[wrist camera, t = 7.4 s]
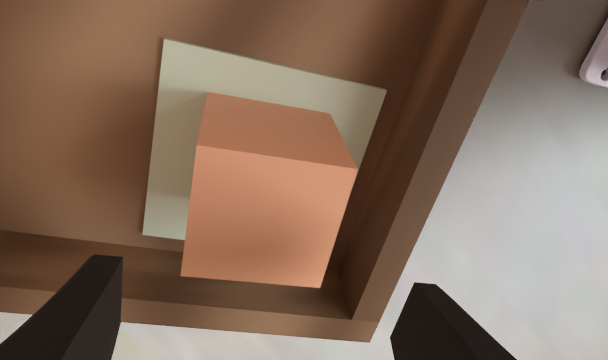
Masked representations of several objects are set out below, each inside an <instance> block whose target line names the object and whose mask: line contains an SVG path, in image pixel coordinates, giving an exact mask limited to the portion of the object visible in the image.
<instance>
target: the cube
mask: <svg viewBox="0 0 608 360" xmlns="http://www.w3.org/2000/svg"><path fill="white" fill-rule="evenodd" d="M357 171H358V168H357V166H356V164H355V162H354V160H353V158H352V156H351V154H350V152H349V150H348V148H347V146H346V144H345V142H344V140H343V138H342V136H341V134H340V132H339V130H338V128H337V126H336V124H335V122H334V120H333V118H332V116H331V114H330V113H325V112H319V111H314V110H308V109H302V108H297V107H291V106H286V105H280V104H274V103H269V102H263V101H257V100H252V99H246V98H241V97H235V96H229V95H224V94H218V93H212V92H208V94H207V98H206V103H205V108H204V113H203V118H202V122H201V127H200V132H199V137H198V141H197V147H196V155H195V163H194V171H193V179H192V187H191V195H190V203H189V211H188V219H187V227H186V236H185V244H184V252H183V260H182V268H181V276H185V277H197V278H209V279H220V280H232V281H244V282H255V283H267V284H279V285H290V286H302V287H314V288H320V287H321V284H322V281H323V277H324V274H325V271H326V268H327V265H328V262H329V259H330V256H331V252H332V249H333V246H334V243H335V240H336V237H337V234H338V231H339V227H340V224H341V221H342V218H343V215H344V212H345V209H346V206H347V202H348V199H349V196H350V193H351V190H352V187H353V184H354V181H355V177H356V174H357Z"/></svg>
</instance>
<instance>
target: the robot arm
mask: <svg viewBox="0 0 608 360" xmlns="http://www.w3.org/2000/svg"><path fill="white" fill-rule="evenodd" d="M605 69H606V72H605V74H604V75H603V76H602V77H600V76H601V73H602V72H603V71H604V70H605ZM579 76H580V78H581V79H582V80H583V81H585V82H588V83H591V84H594V85H598V86H602V87H606V88H608V19H607V20H606V22H605V24H604V26H603V28H602V30H601V31H600V33H599V35H598V37H597V39H596V40H595V42H594V44H593V46H592V48H591V49H590V51H589V53H588V55H587V57H586V58H585V60H584V62H583V64H582V66H581V68H580V71H579ZM122 271H123V257H120V256H108V255H97V254H94V255H92V256H91V257H89V258H88V259H87V260H86V262H85V263H84V264H83V265H82V266H81V267H80V268H79V269H78V270H77V271H76V272H75V274H74V275H73V276H72V277H71V278H70V279H69V280H68V281H67V282H66V283H65V284H64V285H63V286H62V287H61V288H60V289H59V290H58V291H57V292H56V293H55V294H54V295H53V296H52V297H51V298H50V299H49V300H48V301H47V302H46V303H45V304H44V305H43V306H42V307H41V308H40V309H39V310H38V311H36V312H35V313H34V314H33V315H32V316H31V317H30V318H29V319H28V320H27V321H26V322H25V323H24V324H23V325H22V326H21V327H19V328H18V329H17V330H16V331H15V332H14V333H13V334H11V335H10V336H9V337H8V338H7V339H6V340H5V341H3V342H2V343H1V344H0V360H111V358H112V354H113V350H114V347H115V343H116V339H117V335H118V331H119V327H120V323H121V299H122ZM390 339H391V344H392V349H393V354H394V359H395V360H517V359H516V358H514V357H513V356H512V355H511V354H510V353H509V352H508V351H507V350H506V349H505V348H503V347H502V346H501V345H500V344H499V343H498V342H497V341H496V340H495V339H494V338H493V337H492V336H491V335H489V334H488V333H487V332H486V331H485V330H484V329H483V328H482V327H481V326H480V325H479V324H478V323H477V322H476V321H475V320H474V319H473V318H472V317H471V316H470V315H469V314H467V313H466V312H465V311H464V310H463V309H462V308H461V307H460V306H459V305H458V304H457V303H456V302H455V301H454V300H453V299H452V298H451V297H449V296H448V295H447V294H446V293H445V292H444V291H443V290H442V289H440V288H439V287H438V286H437V285H436V284H426V283H415V282H414V285H413V287H412V289H411V291H410V294H409V296H408V298H407V300H406V303H405V305H404V307H403V309H402V312H401V314H400V316H399V319H398V321H397V323H396V325H395V328H394V330H393V332H392V334H391V337H390Z"/></svg>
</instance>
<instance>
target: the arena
mask: <svg viewBox="0 0 608 360" xmlns="http://www.w3.org/2000/svg"><path fill="white" fill-rule="evenodd" d="M528 1H529V0H0V312H7V313H20V314H32V315H33V314H34V313H35V312H36V311H38V310H39V309H40V308H41V307H42V306H43V305H44V304H45V303H46V302H47V301H48V300H49V299H50V298H51V297H52V296H53V295H54V294H55V293H56V292H57V291H58V290H59V289H60V288H61V287H62V286H63V285H64V284H65V283H66V282H67V281H68V280H69V279H70V278H71V277H72V276H73V275H74V274H75V272H76V271H77V270H78V269H79V268H80V267H81V266H82V265H83V264H84V263H85V262H86V260H87V259H88V258H89V257H91V256H92V255H94V254H97V255H108V256H120V257H123V271H122V299H121V322H128V323H140V324H152V325H164V326H176V327H188V328H200V329H212V330H224V331H236V332H248V333H260V334H272V335H284V336H296V337H308V338H320V339H332V340H345V341H357V342H369V343H370V341H371V338H372V336H373V334H374V332H375V330H376V328H377V325H378V323H379V321H380V319H381V317H382V315H383V313H384V310H385V308H386V306H387V304H388V302H389V300H390V297H391V295H392V293H393V291H394V289H395V287H396V285H397V282H398V280H399V278H400V276H401V274H402V272H403V270H404V267H405V265H406V263H407V261H408V259H409V257H410V254H411V252H412V250H413V248H414V246H415V244H416V242H417V239H418V237H419V235H420V233H421V231H422V229H423V227H424V224H425V222H426V220H427V218H428V216H429V214H430V211H431V209H432V207H433V205H434V203H435V201H436V199H437V196H438V194H439V192H440V190H441V188H442V186H443V183H444V181H445V179H446V177H447V175H448V173H449V171H450V168H451V166H452V164H453V162H454V160H455V158H456V156H457V153H458V151H459V149H460V147H461V145H462V143H463V140H464V138H465V136H466V134H467V132H468V130H469V128H470V125H471V123H472V121H473V119H474V117H475V115H476V113H477V110H478V108H479V106H480V104H481V102H482V100H483V97H484V95H485V93H486V91H487V89H488V87H489V85H490V82H491V80H492V78H493V76H494V74H495V72H496V69H497V67H498V65H499V63H500V61H501V59H502V57H503V54H504V52H505V50H506V48H507V46H508V44H509V42H510V39H511V37H512V35H513V33H514V31H515V29H516V26H517V24H518V22H519V20H520V18H521V16H522V14H523V11H524V9H525V7H526V5H527V3H528ZM208 92H212V93H218V94H224V95H229V96H235V97H241V98H246V99H252V100H257V101H263V102H269V103H274V104H280V105H286V106H291V107H297V108H302V109H308V110H314V111H319V112H325V113H330V114H331V116H332V118H333V120H334V122H335V124H336V126H337V128H338V130H339V132H340V134H341V136H342V138H343V140H344V142H345V144H346V146H347V148H348V150H349V152H350V154H351V156H352V158H353V160H354V162H355V164H356V166H357V168H358V171H357V174H356V177H355V181H354V184H353V187H352V190H351V193H350V196H349V199H348V202H347V206H346V209H345V212H344V215H343V218H342V221H341V224H340V227H339V231H338V234H337V237H336V240H335V243H334V246H333V249H332V252H331V256H330V259H329V262H328V265H327V268H326V271H325V274H324V277H323V281H322V284H321V287H320V288H314V287H302V286H290V285H279V284H267V283H255V282H244V281H232V280H220V279H209V278H197V277H185V276H181V268H182V260H183V252H184V244H185V236H186V227H187V219H188V211H189V203H190V195H191V187H192V179H193V171H194V163H195V155H196V147H197V141H198V137H199V132H200V127H201V122H202V118H203V113H204V108H205V103H206V98H207V94H208Z"/></svg>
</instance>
